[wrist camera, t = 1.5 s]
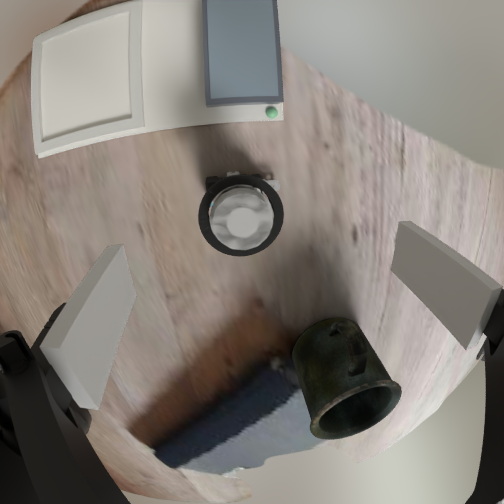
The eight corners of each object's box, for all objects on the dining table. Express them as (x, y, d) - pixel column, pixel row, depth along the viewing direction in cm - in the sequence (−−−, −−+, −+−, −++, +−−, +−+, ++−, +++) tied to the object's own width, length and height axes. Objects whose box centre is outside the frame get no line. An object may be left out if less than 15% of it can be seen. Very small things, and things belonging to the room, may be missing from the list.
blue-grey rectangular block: (207, 107, 22) (205, 105, 19) (202, 0, 17) (201, -12, 14) (277, 104, 22) (283, 101, 20) (270, -1, 17) (275, -13, 15)
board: (42, 157, 21) (36, 159, 20) (40, 37, 15) (34, 34, 14) (281, 120, 23) (284, 120, 22) (272, -10, 17) (275, -15, 16)
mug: (289, 379, 38) (309, 448, 27) (282, 301, 32) (312, 382, 21) (358, 361, 39) (390, 422, 28) (368, 281, 32) (421, 346, 21)
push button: (274, 155, 25) (307, 173, 16) (277, 210, 27) (308, 255, 18) (201, 162, 24) (191, 183, 15) (207, 217, 27) (204, 267, 18)
